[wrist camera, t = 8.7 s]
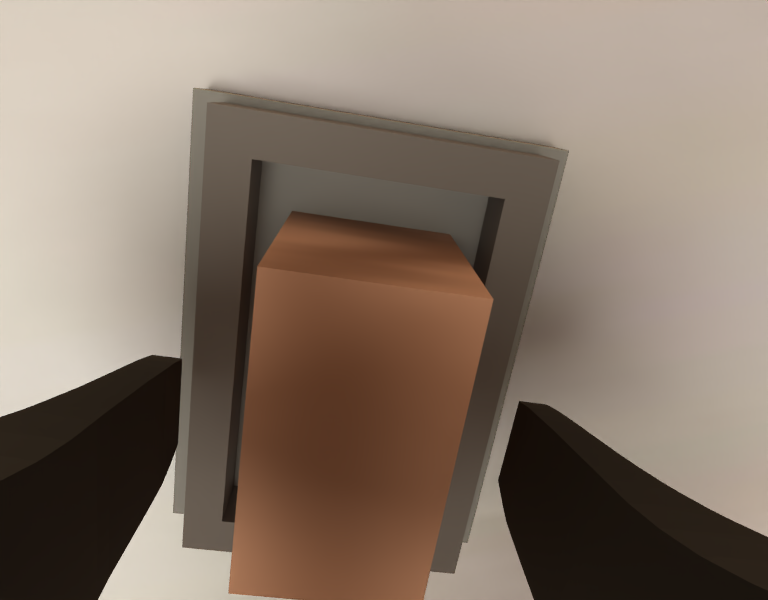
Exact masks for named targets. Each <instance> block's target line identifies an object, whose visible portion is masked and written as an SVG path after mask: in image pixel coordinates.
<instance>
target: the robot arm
mask: <svg viewBox="0 0 768 600" xmlns="http://www.w3.org/2000/svg"><path fill="white" fill-rule="evenodd" d="M181 375H182V359H180V358H172V357H164V356H156V355H151V356H148V357H145V358H142V359H140V360H138V361H135V362H133V363H131V364H129V365H126V366H124V367H122V368H120V369H118V370H116V371H113V372H111V373H109V374H107V375H105V376H102V377H100V378H98V379H96V380H94V381H91V382H89V383H87V384H85V385H83V386H80V387H78V388H76V389H73V390H71V391H68V392H66V393H63V394H61V395H58V396H56V397H54V398H51V399H49V400H46V401H44V402H41V403H39V404H36V405H34V406H31V407H28V408H26V409H23V410H20V411H17V412H14V413H11V414H8V415H5V416H2V417H0V600H98V598H99V596H100V594H101V592H102V590H103V589H104V587H105V585H106V583H107V581H108V579H109V577H110V575H111V574H112V572H113V570H114V568H115V567H116V565H117V563H118V561H119V560H120V558H121V556H122V554H123V553H124V551H125V549H126V547H127V546H128V544H129V542H130V540H131V539H132V537H133V535H134V533H135V532H136V530H137V528H138V526H139V525H140V523H141V521H142V519H143V518H144V516H145V514H146V512H147V511H148V509H149V507H150V505H151V503H152V502H153V500H154V498H155V496H156V495H157V493H158V491H159V489H160V487H161V485H162V483H163V481H164V478H165V476H166V474H167V471H168V469H169V466H170V464H171V461H172V458H173V456H174V453H175V451H176V448H177V445H178V435H179V415H180V395H181ZM498 482H499V487H500V493H501V498H502V503H503V508H504V513H505V517H506V522H507V525H508V528H509V531H510V534H511V537H512V539H513V542H514V545H515V548H516V551H517V554H518V557H519V559H520V562H521V565H522V568H523V570H524V573H525V576H526V579H527V582H528V584H529V587H530V590H531V593H532V595H533V598H534V600H768V537H766V536H764V535H762V534H760V533H758V532H755V531H753V530H751V529H749V528H747V527H745V526H743V525H740V524H738V523H736V522H734V521H732V520H730V519H728V518H726V517H724V516H722V515H720V514H718V513H716V512H714V511H712V510H710V509H708V508H706V507H705V506H703V505H701V504H699V503H697V502H696V501H694V500H692V499H690V498H688V497H687V496H685V495H683V494H681V493H679V492H677V491H676V490H674V489H672V488H671V487H669V486H667V485H666V484H664V483H662V482H661V481H659V480H658V479H656V478H655V477H653V476H651V475H650V474H648V473H647V472H645V471H644V470H642V469H641V468H639V467H637V466H636V465H634V464H633V463H631V462H630V461H629V460H627V459H626V458H624V457H623V456H621V455H620V454H618V453H617V452H615V451H614V450H613V449H611V448H610V447H608V446H607V445H605V444H604V443H603V442H601V441H600V440H598V439H597V438H596V437H594V436H593V435H592V434H590V433H589V432H587V431H586V430H585V429H583V428H582V427H580V426H579V425H578V424H576V423H575V422H573V421H572V420H570V419H569V418H568V417H566V416H565V415H563V414H562V413H560V412H559V411H557V410H555V409H554V408H552V407H550V406H548V405H545V404H537V403H529V402H521V401H519V404H518V408H517V412H516V415H515V419H514V423H513V427H512V430H511V434H510V438H509V442H508V445H507V449H506V453H505V457H504V460H503V464H502V468H501V472H500V475H499V479H498Z"/></svg>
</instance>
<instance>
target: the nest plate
mask: <svg viewBox="0 0 768 600" xmlns="http://www.w3.org/2000/svg"><path fill="white" fill-rule="evenodd" d="M568 153H569V151H567V150H563V149H559V148H555V147H550V146H544V145H538V144H532V143H526V142H520V141H514V140H508V139H502V138H496V137H490V136H484V135H478V134H472V133H466V132H460V131H454V130H448V129H442V128H436V127H430V126H424V125H418V124H412V123H407V122H401V121H395V120H389V119H383V118H377V117H371V116H365V115H359V114H353V113H347V112H341V111H335V110H329V109H323V108H317V107H311V106H305V105H299V104H293V103H287V102H281V101H275V100H269V99H263V98H257V97H252V96H246V95H240V94H234V93H228V92H222V91H216V90H210V89H200V88H193V106H192V127H191V148H190V169H189V190H188V211H187V232H186V253H185V274H184V295H183V316H182V337H181V358H180V359H182V375H181V395H180V415H179V435H178V445H177V448H176V463H175V484H174V505H173V513H180V514H184V527H183V545H182V547H185V548H195V549H205V550H216V551H226V552H232V548H233V536H234V525H235V513H236V502H237V491H238V479H239V468H240V457H241V445H242V434H243V423H244V411H245V400H246V388H247V377H248V366H249V354H250V343H251V332H252V320H253V309H254V298H255V286H256V275H257V266H258V264H259V263H260V261H261V260H262V258H263V257H264V255H265V253H266V252H267V250H268V249H269V247H270V245H271V244H272V242H273V241H274V239H275V237H276V236H277V234H278V233H279V231H280V229H281V228H282V226H283V225H284V223H285V221H286V220H287V218H288V217H289V215H290V213H291V212H292V211H297V212H304V213H310V214H317V215H324V216H331V217H337V218H344V219H351V220H358V221H364V222H371V223H378V224H385V225H391V226H398V227H405V228H412V229H418V230H425V231H432V232H438V233H445V234H450V235H451V236H452V238H453V239H454V241H455V242H456V244H457V245H458V247H459V248H460V250H461V251H462V253H463V254H464V256H465V257H466V259H467V260H468V262H469V263H470V265H471V266H472V268H473V269H474V271H475V272H476V274H477V275H478V277H479V278H480V280H481V281H482V283H483V284H484V286H485V287H486V289H487V290H488V292H489V293H490V295H491V296H492V298H493V304H492V308H491V312H490V317H489V321H488V325H487V329H486V334H485V338H484V342H483V347H482V351H481V355H480V359H479V364H478V368H477V372H476V376H475V381H474V385H473V389H472V394H471V398H470V402H469V406H468V411H467V415H466V419H465V424H464V428H463V432H462V436H461V441H460V445H459V449H458V453H457V458H456V462H455V466H454V471H453V475H452V479H451V483H450V488H449V492H448V496H447V501H446V505H445V509H444V513H443V518H442V522H441V526H440V530H439V535H438V539H437V543H436V548H435V552H434V556H433V560H432V565H431V569H430V571H433V572H443V573H455V569H456V565H457V561H458V557H459V553H460V549H461V545H462V542H464V543H468V539H469V535H470V531H471V527H472V523H473V519H474V516H475V512H476V508H477V504H478V500H479V496H480V492H481V489H482V485H483V481H484V477H485V473H486V469H487V465H488V462H489V458H490V454H491V450H492V446H493V442H494V438H495V435H496V431H497V427H498V423H499V419H500V415H501V411H502V408H503V404H504V400H505V396H506V392H507V388H508V384H509V380H510V377H511V373H512V369H513V365H514V361H515V357H516V353H517V350H518V346H519V342H520V338H521V334H522V330H523V326H524V323H525V319H526V315H527V311H528V307H529V303H530V299H531V296H532V292H533V288H534V284H535V280H536V276H537V272H538V269H539V265H540V261H541V257H542V253H543V249H544V245H545V242H546V238H547V234H548V230H549V226H550V222H551V218H552V215H553V211H554V207H555V203H556V199H557V195H558V191H559V188H560V184H561V180H562V176H563V172H564V168H565V164H566V161H567V157H568Z"/></svg>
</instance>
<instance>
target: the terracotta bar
mask: <svg viewBox="0 0 768 600" xmlns="http://www.w3.org/2000/svg"><path fill="white" fill-rule="evenodd" d="M492 304H493V298H492V296H491V295H490V293H489V292H488V290H487V289H486V287H485V286H484V284H483V283H482V281H481V280H480V278H479V277H478V275H477V274H476V272H475V271H474V269H473V268H472V266H471V265H470V263H469V262H468V260H467V259H466V257H465V256H464V254H463V253H462V251H461V250H460V248H459V247H458V245H457V244H456V242H455V241H454V239H453V238H452V236H451V235H450V234H445V233H438V232H432V231H425V230H418V229H412V228H405V227H398V226H391V225H385V224H378V223H371V222H364V221H358V220H351V219H344V218H337V217H331V216H324V215H317V214H310V213H304V212H297V211H292V212H291V213H290V215H289V217H288V218H287V220H286V221H285V223H284V225H283V226H282V228H281V229H280V231H279V233H278V234H277V236H276V237H275V239H274V241H273V242H272V244H271V245H270V247H269V249H268V250H267V252H266V253H265V255H264V257H263V258H262V260H261V261H260V263H259V264H258V266H257V275H256V286H255V298H254V309H253V320H252V332H251V343H250V354H249V366H248V377H247V388H246V400H245V411H244V423H243V434H242V445H241V457H240V468H239V479H238V491H237V502H236V513H235V525H234V536H233V548H232V559H231V570H230V582H229V593H230V594H241V595H252V596H264V597H275V598H286V599H298V600H423V599H424V595H425V590H426V586H427V582H428V578H429V573H430V569H431V565H432V560H433V556H434V552H435V548H436V543H437V539H438V535H439V530H440V526H441V522H442V518H443V513H444V509H445V505H446V501H447V496H448V492H449V488H450V483H451V479H452V475H453V471H454V466H455V462H456V458H457V453H458V449H459V445H460V441H461V436H462V432H463V428H464V424H465V419H466V415H467V411H468V406H469V402H470V398H471V394H472V389H473V385H474V381H475V376H476V372H477V368H478V364H479V359H480V355H481V351H482V347H483V342H484V338H485V334H486V329H487V325H488V321H489V317H490V312H491V308H492Z"/></svg>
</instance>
